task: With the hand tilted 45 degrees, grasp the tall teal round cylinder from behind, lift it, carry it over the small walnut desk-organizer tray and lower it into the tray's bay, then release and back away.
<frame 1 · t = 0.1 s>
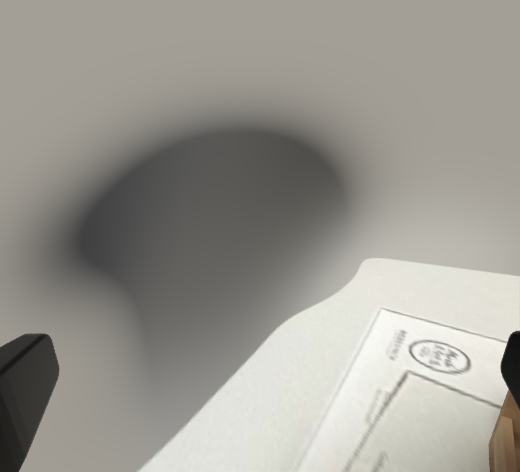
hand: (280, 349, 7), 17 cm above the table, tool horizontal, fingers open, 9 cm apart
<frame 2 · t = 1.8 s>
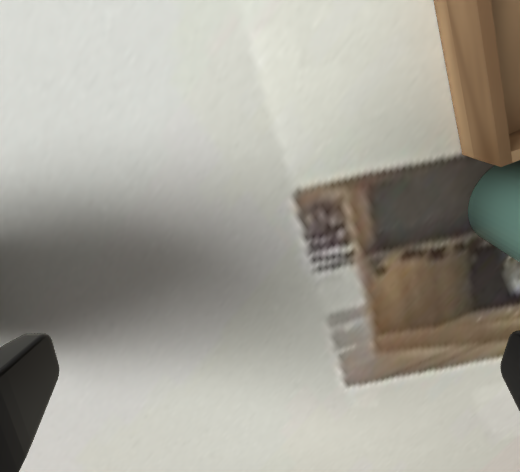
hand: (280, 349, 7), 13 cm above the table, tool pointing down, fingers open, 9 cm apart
teal round cylinder: (513, 201, 20), on the table
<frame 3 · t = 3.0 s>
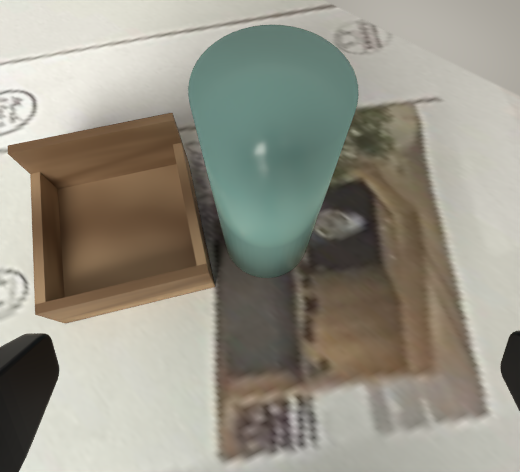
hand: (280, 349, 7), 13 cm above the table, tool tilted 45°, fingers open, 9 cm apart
teal round cylinder: (266, 237, 23), on the table
walnut tray: (132, 236, 23), on the table
when the fingers open (9 cm above the table, at t = 9.0 s): teal round cylinder drops 1 cm, resting on walnut tray.
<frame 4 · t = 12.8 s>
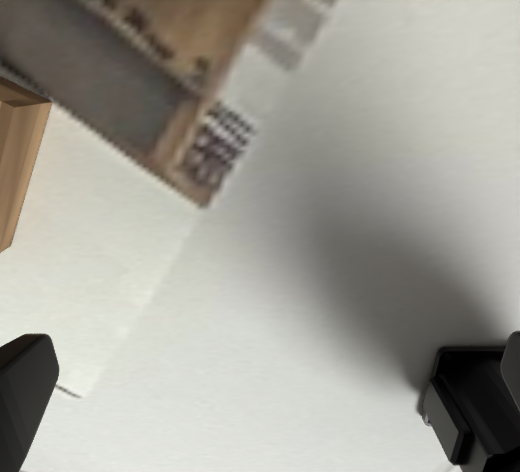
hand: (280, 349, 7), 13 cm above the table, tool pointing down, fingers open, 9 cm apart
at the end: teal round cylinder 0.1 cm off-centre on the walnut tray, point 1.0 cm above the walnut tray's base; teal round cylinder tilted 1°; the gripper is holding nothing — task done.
